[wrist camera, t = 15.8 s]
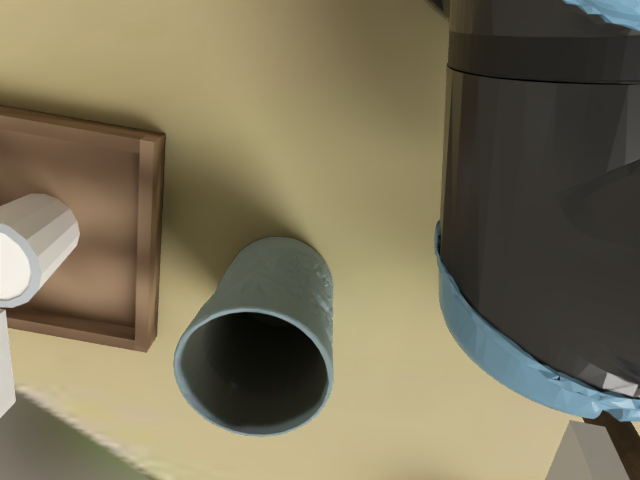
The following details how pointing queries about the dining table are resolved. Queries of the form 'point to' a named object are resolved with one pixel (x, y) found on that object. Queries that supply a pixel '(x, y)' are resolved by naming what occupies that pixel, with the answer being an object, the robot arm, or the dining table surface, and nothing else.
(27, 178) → the tray
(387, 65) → the dining table surface
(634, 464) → the stick grenade
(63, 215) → the white cup
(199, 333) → the blue cup
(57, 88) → the dining table surface
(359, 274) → the dining table surface
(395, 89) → the dining table surface
